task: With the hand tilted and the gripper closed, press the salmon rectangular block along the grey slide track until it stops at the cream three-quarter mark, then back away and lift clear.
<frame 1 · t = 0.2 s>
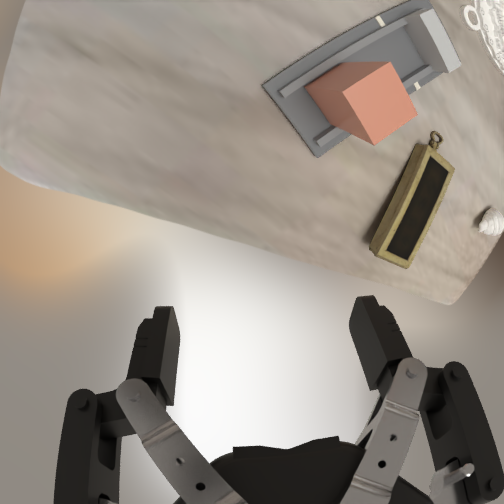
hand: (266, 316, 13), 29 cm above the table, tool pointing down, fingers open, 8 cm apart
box: (408, 190, 44), on the table
salmon rectangular block: (355, 96, 28), point 7 cm above the table, slide at 0.0 cm
white seashell: (480, 217, 49), on the table
medallion: (501, 25, 27), on the table
grey slide track: (375, 64, 33), on the table
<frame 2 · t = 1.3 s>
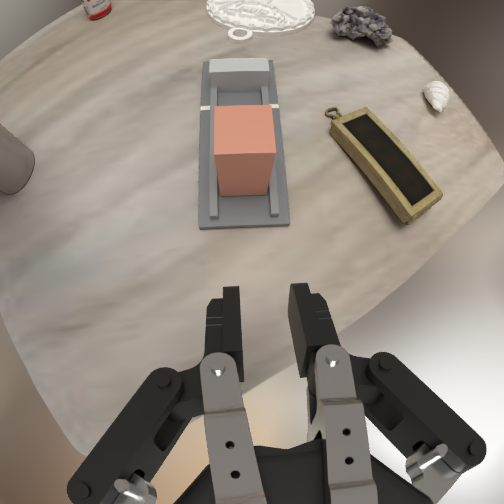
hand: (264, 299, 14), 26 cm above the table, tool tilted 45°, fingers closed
mineral specimen: (358, 38, 49), on the table
beer can: (100, 14, 49), on the table
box: (371, 162, 44), on the table
salmon rectangular block: (243, 154, 35), point 7 cm above the table, slide at 0.0 cm
white seashell: (430, 106, 47), on the table
medallion: (258, 12, 50), on the table
grey slide track: (240, 131, 43), on the table
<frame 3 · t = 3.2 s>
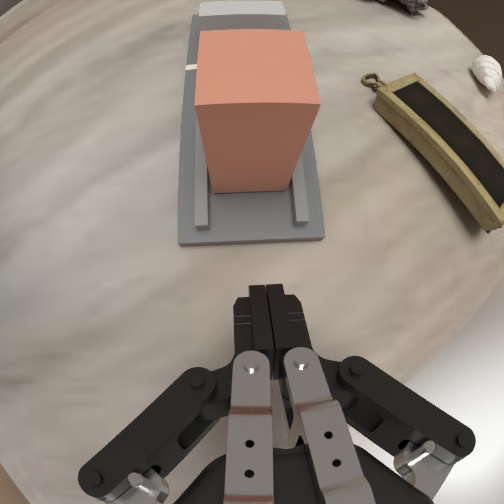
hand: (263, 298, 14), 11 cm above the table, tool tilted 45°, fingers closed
mineral specimen: (388, 2, 34), on the table
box: (430, 146, 29), on the table
salmon rectangular block: (250, 120, 19), point 8 cm above the table, slide at 0.0 cm
white seashell: (480, 85, 32), on the table
grey slide track: (243, 98, 28), on the table
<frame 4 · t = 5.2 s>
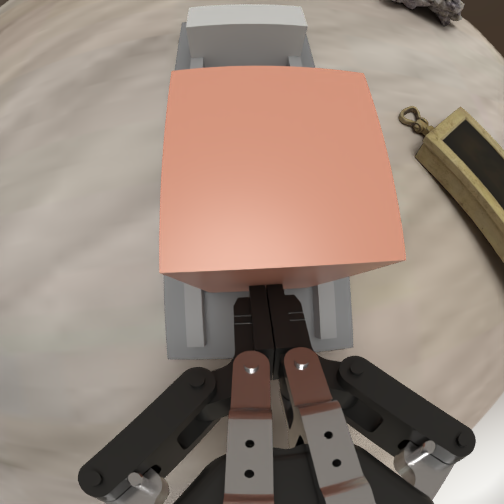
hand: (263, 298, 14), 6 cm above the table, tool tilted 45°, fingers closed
mineral specimen: (416, 10, 28), on the table
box: (476, 202, 23), on the table
salmon rectangular block: (263, 215, 13), point 8 cm above the table, slide at 0.2 cm, touching gripper
grey slide track: (249, 144, 22), on the table
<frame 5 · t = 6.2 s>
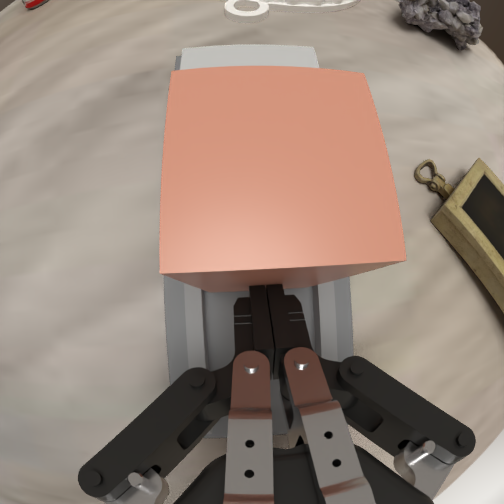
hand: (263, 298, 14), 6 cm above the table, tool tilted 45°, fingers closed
mineral specimen: (431, 31, 27), on the table
beer can: (43, 0, 27), on the table
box: (488, 258, 22), on the table
salmon rectangular block: (263, 215, 13), point 7 cm above the table, slide at 5.8 cm, touching gripper
grey slide track: (253, 215, 21), on the table
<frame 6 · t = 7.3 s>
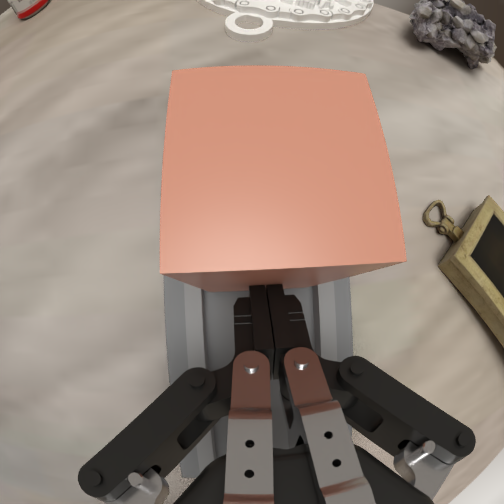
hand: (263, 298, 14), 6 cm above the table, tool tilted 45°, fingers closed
mineral specimen: (442, 49, 26), on the table
beer can: (36, 10, 26), on the table
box: (493, 295, 21), on the table
salmon rectangular block: (264, 214, 13), point 7 cm above the table, slide at 9.4 cm, touching gripper
grey slide track: (256, 267, 20), on the table
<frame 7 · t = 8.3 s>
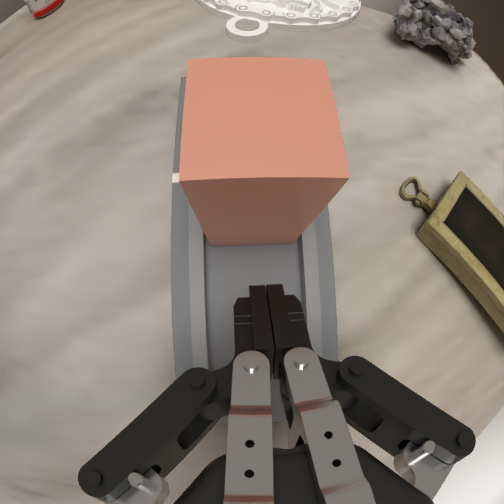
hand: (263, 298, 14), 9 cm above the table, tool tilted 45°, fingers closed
mineral specimen: (425, 46, 30), on the table
beer can: (50, 9, 30), on the table
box: (473, 263, 24), on the table
salmon rectangular block: (254, 171, 17), point 7 cm above the table, slide at 9.4 cm
grey slide track: (250, 228, 24), on the table
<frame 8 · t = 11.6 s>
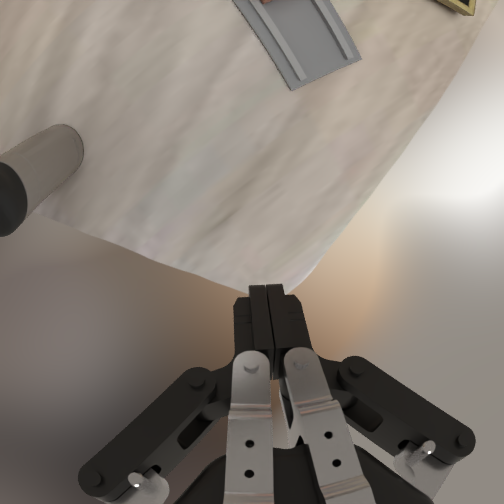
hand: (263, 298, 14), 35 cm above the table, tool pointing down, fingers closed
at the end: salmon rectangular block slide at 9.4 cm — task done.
